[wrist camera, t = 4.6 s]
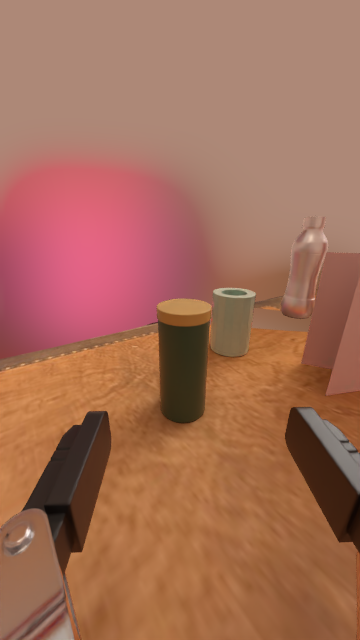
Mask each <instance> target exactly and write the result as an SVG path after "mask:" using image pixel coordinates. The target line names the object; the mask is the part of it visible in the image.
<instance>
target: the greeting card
mask: <svg viewBox="0 0 360 640" xmlns="http://www.w3.org/2000/svg"><path fill="white" fill-rule="evenodd" d="M301 364H307V365H312V366H317V367H322V368H327V369H332V373H331V377H330V380H329V384H328V388H327V391H326V395H325V396H327V395H334V394H340V393H347V392H354V391H360V253H331V252H326V256H325V261H324V265H323V269H322V274H321V278H320V283H319V287H318V291H317V296H316V300H315V305H314V309H313V313H312V318H311V323H310V327H309V331H308V336H307V340H306V345H305V349H304V353H303V358H302V362H301Z"/></svg>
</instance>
